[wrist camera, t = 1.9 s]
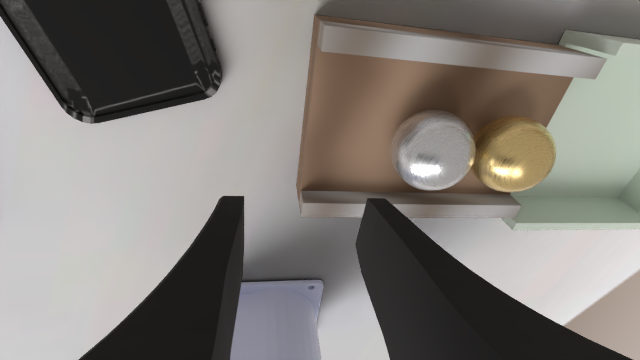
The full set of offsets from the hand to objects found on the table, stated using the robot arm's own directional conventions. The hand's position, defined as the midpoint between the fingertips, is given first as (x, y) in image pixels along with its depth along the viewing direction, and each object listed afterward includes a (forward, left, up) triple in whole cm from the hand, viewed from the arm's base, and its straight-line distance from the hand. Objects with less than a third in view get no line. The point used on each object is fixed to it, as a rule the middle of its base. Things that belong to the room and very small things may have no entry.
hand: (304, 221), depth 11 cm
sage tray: (+21, 0, -9) cm, 23 cm away
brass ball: (+12, 0, -5) cm, 13 cm away
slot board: (+8, 0, -9) cm, 12 cm away
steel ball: (+7, 0, -5) cm, 9 cm away
